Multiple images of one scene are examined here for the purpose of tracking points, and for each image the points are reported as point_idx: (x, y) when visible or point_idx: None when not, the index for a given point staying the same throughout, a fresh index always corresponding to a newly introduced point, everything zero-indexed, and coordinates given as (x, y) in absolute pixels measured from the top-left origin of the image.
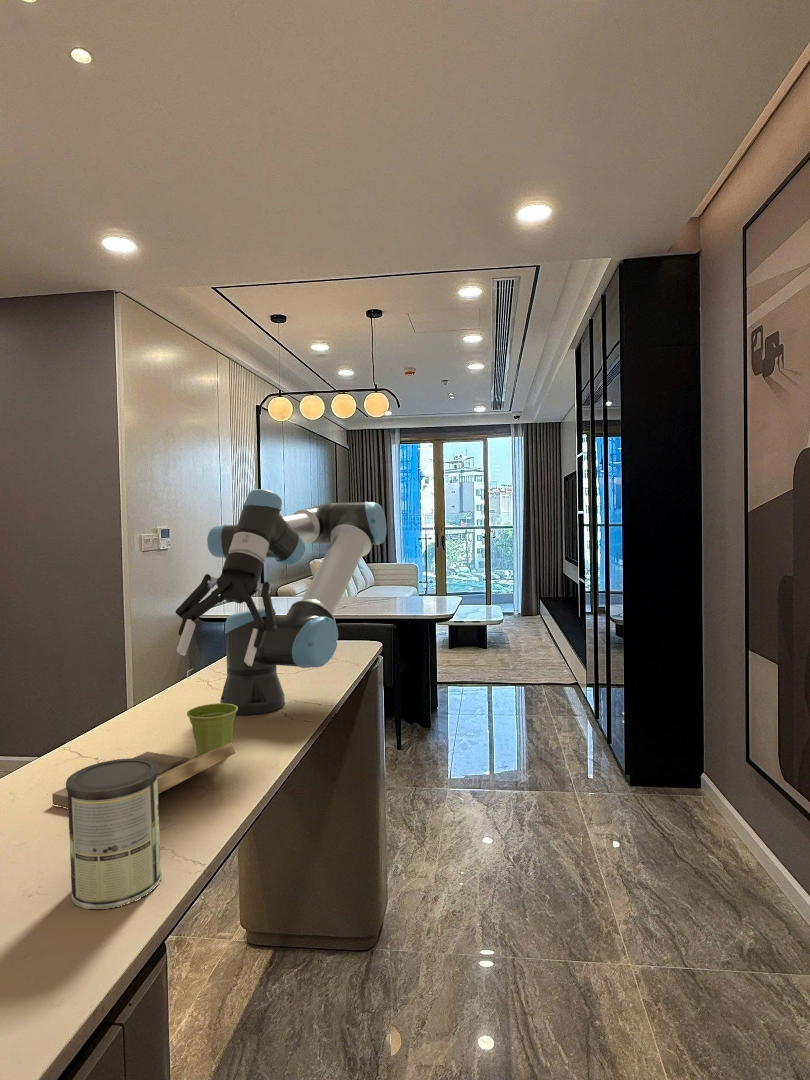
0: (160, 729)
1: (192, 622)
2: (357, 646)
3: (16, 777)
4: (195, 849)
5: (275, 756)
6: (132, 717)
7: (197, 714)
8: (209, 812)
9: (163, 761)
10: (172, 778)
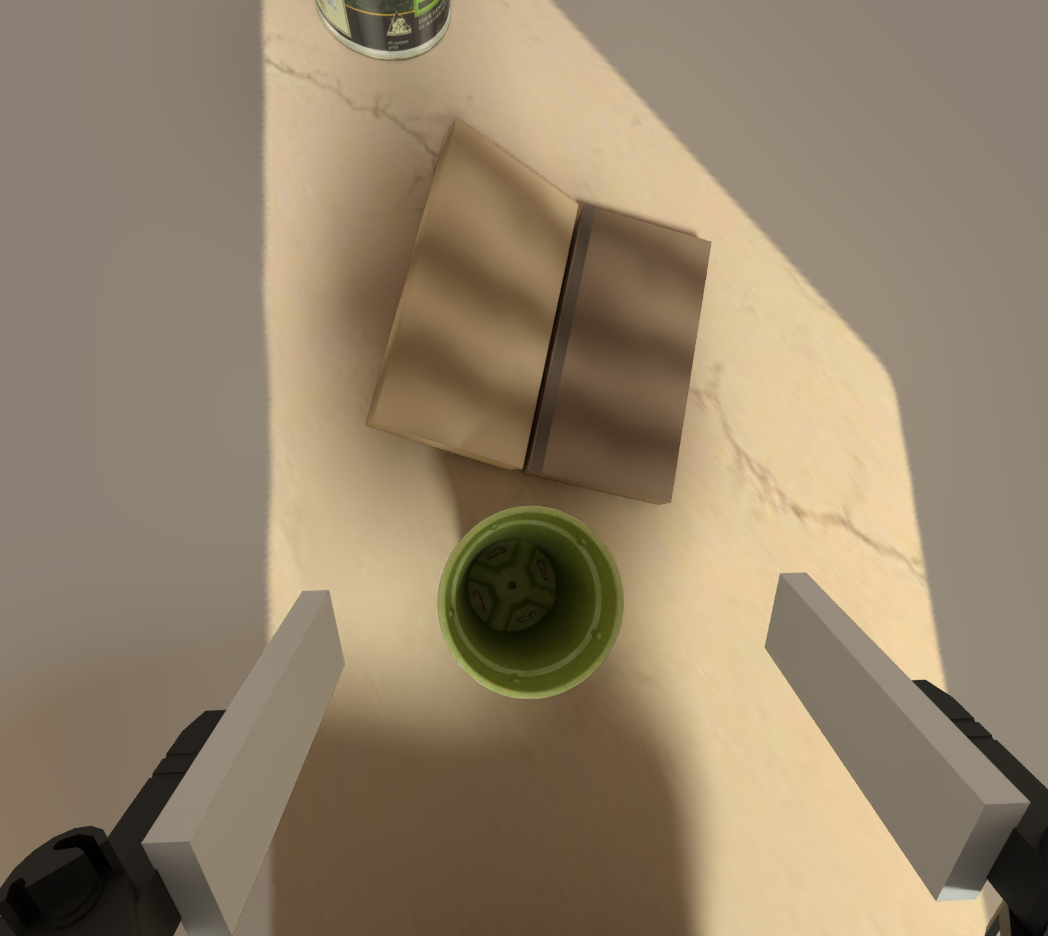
0: (787, 769)
1: (955, 834)
2: None
3: (881, 382)
4: (308, 108)
5: None
6: None
7: (601, 620)
8: (353, 250)
9: (585, 439)
10: (431, 198)
